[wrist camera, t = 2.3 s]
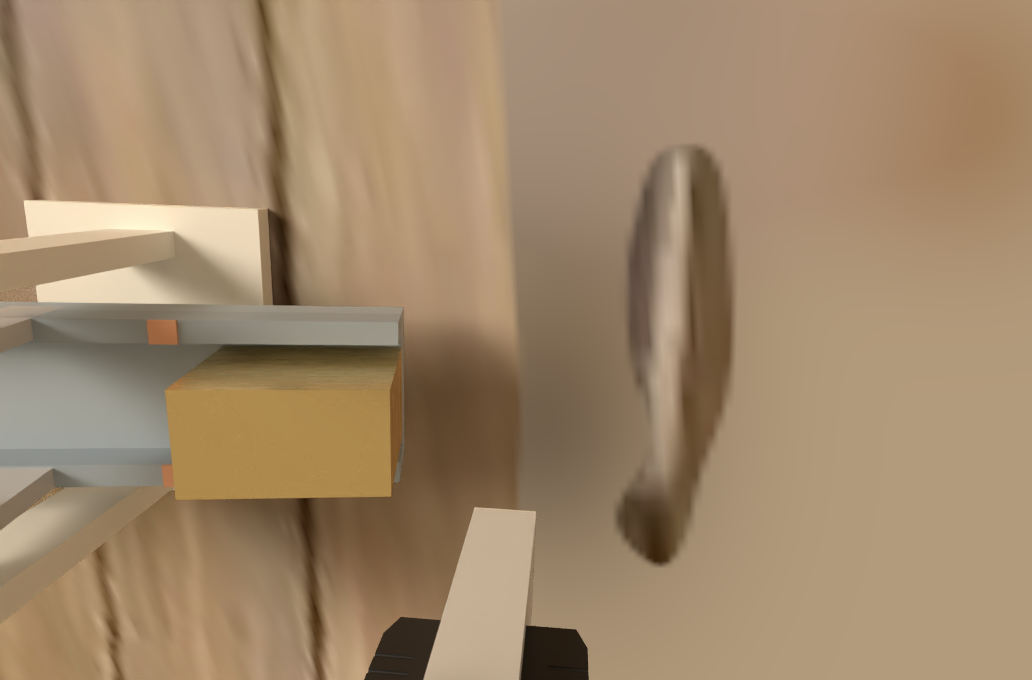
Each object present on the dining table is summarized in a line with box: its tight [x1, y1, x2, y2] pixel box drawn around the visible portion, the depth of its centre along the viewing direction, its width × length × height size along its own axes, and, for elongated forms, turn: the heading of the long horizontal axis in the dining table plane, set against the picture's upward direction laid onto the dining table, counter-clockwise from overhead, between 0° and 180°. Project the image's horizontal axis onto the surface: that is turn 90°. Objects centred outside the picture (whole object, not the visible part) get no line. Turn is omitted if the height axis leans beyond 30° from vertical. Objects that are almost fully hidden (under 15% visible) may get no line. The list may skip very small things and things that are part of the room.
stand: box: [0, 200, 273, 624], centre depth 25 cm, size 14×11×16 cm
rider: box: [165, 346, 402, 500], centre depth 24 cm, size 4×7×6 cm, turn 88°
